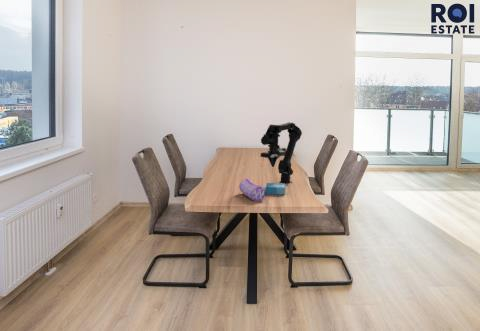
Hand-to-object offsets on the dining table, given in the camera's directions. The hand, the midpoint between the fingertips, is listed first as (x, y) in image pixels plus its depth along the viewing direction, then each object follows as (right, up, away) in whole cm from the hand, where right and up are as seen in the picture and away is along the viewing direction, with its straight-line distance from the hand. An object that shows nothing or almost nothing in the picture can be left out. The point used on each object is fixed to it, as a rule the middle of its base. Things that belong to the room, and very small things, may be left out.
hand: (272, 166), depth 295 cm
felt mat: (-6, -16, -14) cm, 22 cm away
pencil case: (-15, -19, -29) cm, 38 cm away
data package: (+1, -13, -11) cm, 17 cm away
